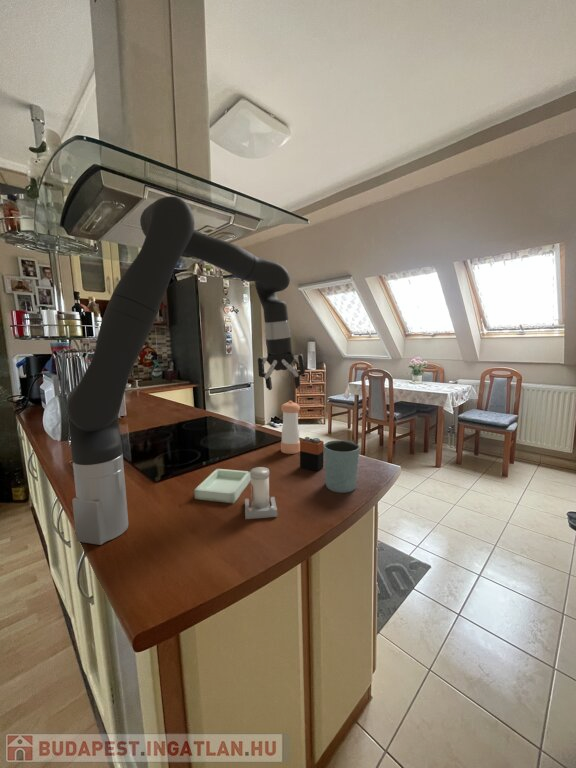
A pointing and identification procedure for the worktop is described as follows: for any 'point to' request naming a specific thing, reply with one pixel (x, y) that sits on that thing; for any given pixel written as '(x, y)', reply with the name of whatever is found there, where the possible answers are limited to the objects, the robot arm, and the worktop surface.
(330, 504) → the worktop surface
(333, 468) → the teal cup
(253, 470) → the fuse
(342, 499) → the worktop surface
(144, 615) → the worktop surface
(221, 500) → the tray
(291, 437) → the salt shaker
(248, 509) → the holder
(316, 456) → the battery
